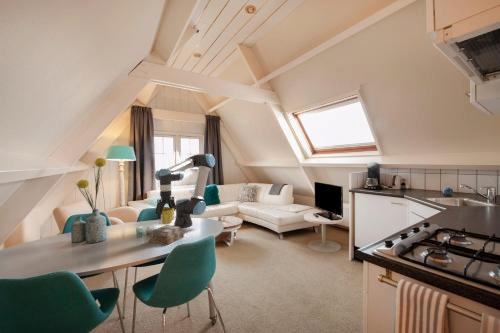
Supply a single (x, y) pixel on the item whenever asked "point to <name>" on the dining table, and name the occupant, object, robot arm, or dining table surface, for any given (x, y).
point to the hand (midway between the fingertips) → (166, 221)
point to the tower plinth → (166, 240)
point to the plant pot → (167, 215)
